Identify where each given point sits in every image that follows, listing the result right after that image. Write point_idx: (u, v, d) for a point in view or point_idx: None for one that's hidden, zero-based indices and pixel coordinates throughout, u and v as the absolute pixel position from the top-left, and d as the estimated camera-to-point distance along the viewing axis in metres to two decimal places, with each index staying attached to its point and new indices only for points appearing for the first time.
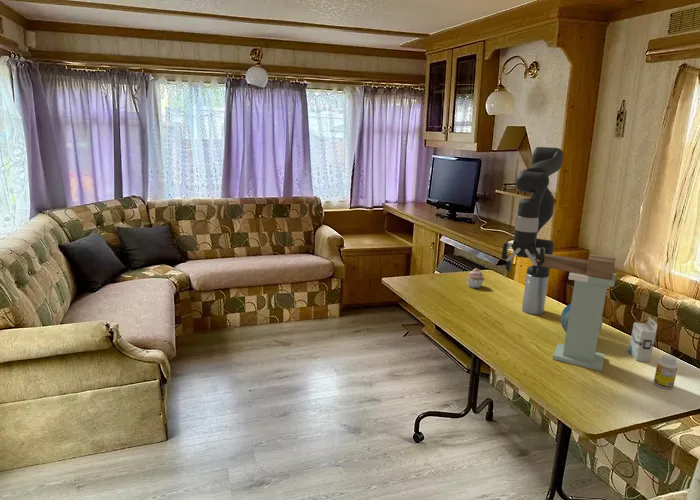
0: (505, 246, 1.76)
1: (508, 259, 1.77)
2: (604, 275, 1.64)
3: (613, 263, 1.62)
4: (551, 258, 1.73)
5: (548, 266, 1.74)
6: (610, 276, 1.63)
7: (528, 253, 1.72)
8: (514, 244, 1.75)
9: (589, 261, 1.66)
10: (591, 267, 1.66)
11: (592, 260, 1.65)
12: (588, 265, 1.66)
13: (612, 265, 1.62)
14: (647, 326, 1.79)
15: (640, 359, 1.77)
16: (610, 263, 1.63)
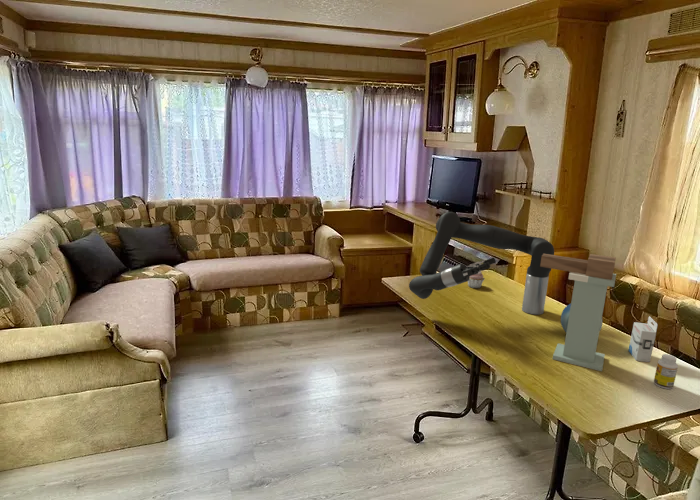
0: None
1: None
2: (604, 275, 1.64)
3: (613, 263, 1.62)
4: (551, 258, 1.73)
5: (548, 266, 1.74)
6: (610, 276, 1.63)
7: None
8: None
9: (589, 261, 1.66)
10: (591, 267, 1.66)
11: (592, 260, 1.65)
12: (588, 265, 1.66)
13: (612, 265, 1.62)
14: (647, 326, 1.79)
15: (640, 359, 1.77)
16: (610, 263, 1.63)
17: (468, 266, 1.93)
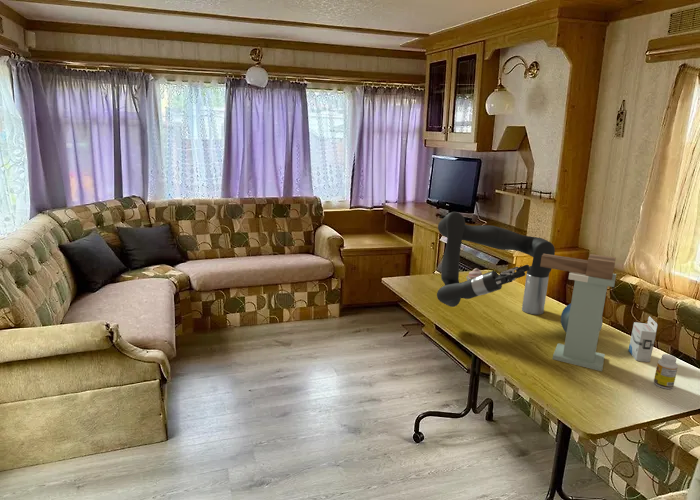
0: None
1: None
2: (604, 275, 1.64)
3: (613, 263, 1.62)
4: (551, 258, 1.73)
5: (548, 266, 1.74)
6: (610, 276, 1.63)
7: None
8: None
9: (589, 261, 1.66)
10: (591, 267, 1.66)
11: (592, 260, 1.65)
12: (588, 265, 1.66)
13: (612, 265, 1.62)
14: (647, 326, 1.79)
15: (640, 359, 1.77)
16: (610, 263, 1.63)
17: (501, 274, 1.83)
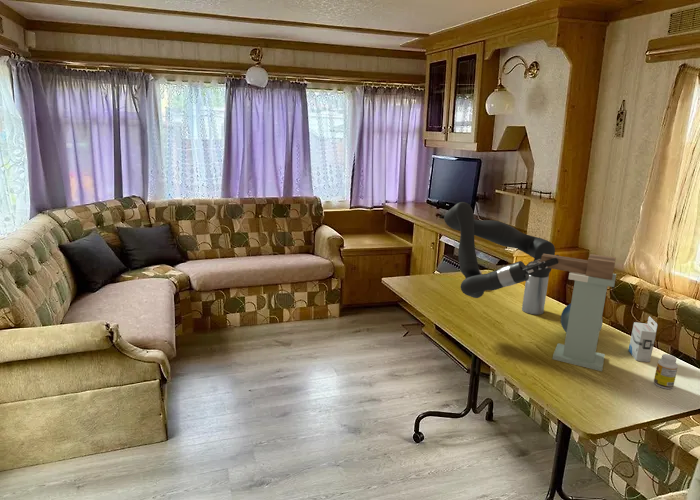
0: None
1: None
2: (604, 275, 1.64)
3: (613, 263, 1.62)
4: (551, 258, 1.73)
5: None
6: (611, 276, 1.63)
7: None
8: None
9: (589, 261, 1.66)
10: (592, 267, 1.66)
11: (592, 260, 1.65)
12: (588, 265, 1.66)
13: (612, 265, 1.62)
14: (647, 326, 1.79)
15: (640, 359, 1.77)
16: (610, 263, 1.63)
17: (530, 263, 1.77)
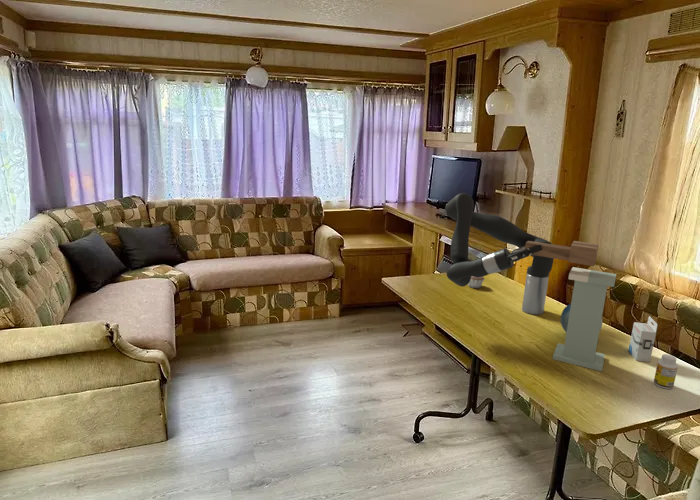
0: None
1: None
2: (587, 261, 1.66)
3: (595, 249, 1.64)
4: (535, 245, 1.75)
5: (532, 253, 1.76)
6: (593, 263, 1.65)
7: None
8: None
9: (572, 247, 1.67)
10: (574, 253, 1.67)
11: (575, 246, 1.67)
12: (571, 251, 1.68)
13: (594, 251, 1.64)
14: (647, 326, 1.79)
15: (640, 359, 1.77)
16: (592, 249, 1.64)
17: (514, 250, 1.79)
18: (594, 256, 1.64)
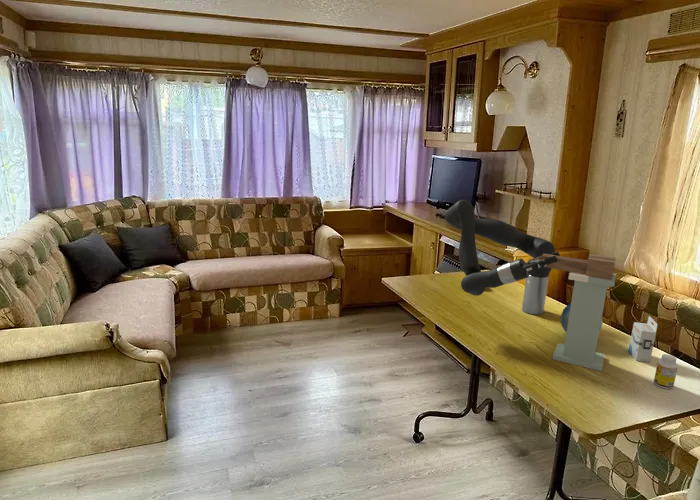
0: None
1: None
2: (604, 275, 1.64)
3: (613, 263, 1.62)
4: None
5: (548, 266, 1.74)
6: (610, 276, 1.63)
7: None
8: None
9: (589, 261, 1.66)
10: (591, 267, 1.66)
11: (592, 260, 1.65)
12: (588, 265, 1.66)
13: (612, 265, 1.62)
14: (647, 326, 1.79)
15: (640, 359, 1.77)
16: (610, 263, 1.62)
17: (530, 261, 1.77)
18: (612, 270, 1.63)
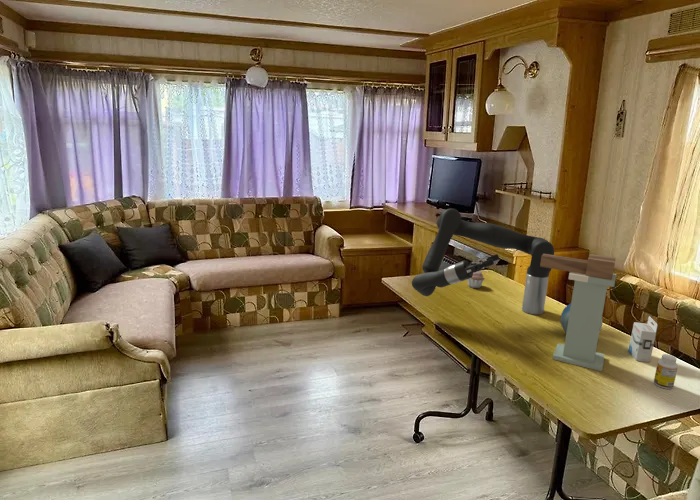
0: None
1: None
2: (604, 275, 1.64)
3: (613, 263, 1.62)
4: (551, 258, 1.73)
5: (548, 266, 1.74)
6: (610, 276, 1.63)
7: None
8: None
9: (589, 261, 1.66)
10: (591, 267, 1.66)
11: (592, 260, 1.65)
12: (588, 265, 1.66)
13: (612, 265, 1.62)
14: (647, 326, 1.79)
15: (640, 359, 1.77)
16: (610, 263, 1.62)
17: (471, 263, 1.92)
18: (612, 270, 1.63)
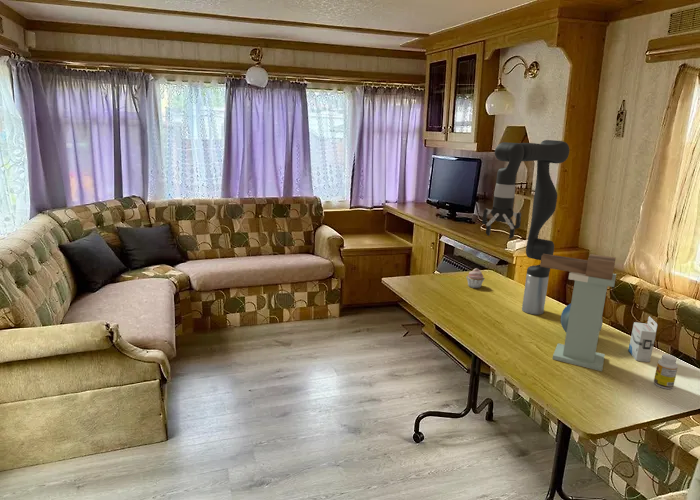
0: (485, 212, 1.93)
1: (488, 224, 1.93)
2: (604, 275, 1.64)
3: (613, 263, 1.62)
4: (551, 258, 1.73)
5: (548, 266, 1.74)
6: (610, 276, 1.63)
7: (506, 218, 1.89)
8: (493, 210, 1.91)
9: (589, 261, 1.66)
10: (591, 267, 1.66)
11: (592, 260, 1.65)
12: (588, 265, 1.66)
13: (612, 265, 1.62)
14: (647, 326, 1.79)
15: (640, 359, 1.77)
16: (610, 263, 1.62)
17: None
18: (612, 270, 1.63)
